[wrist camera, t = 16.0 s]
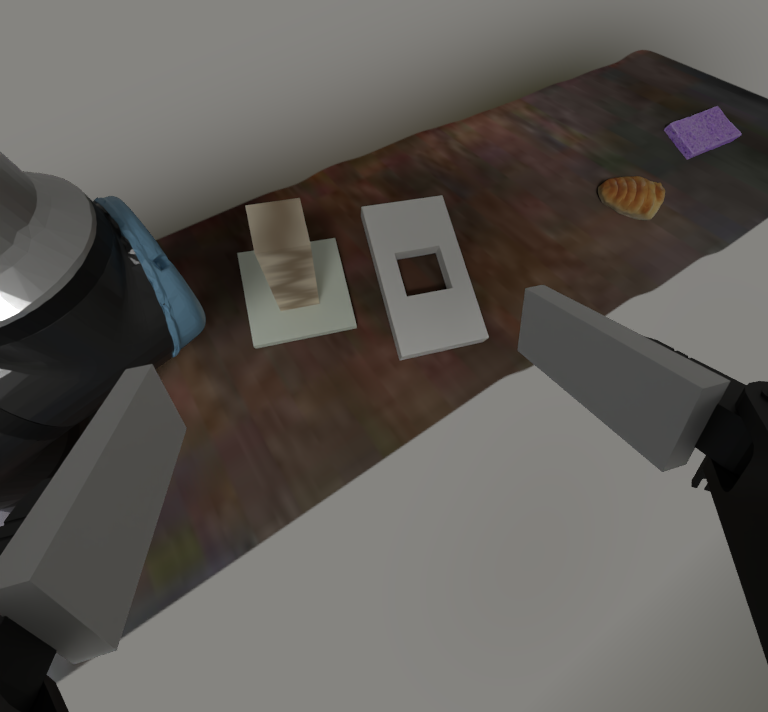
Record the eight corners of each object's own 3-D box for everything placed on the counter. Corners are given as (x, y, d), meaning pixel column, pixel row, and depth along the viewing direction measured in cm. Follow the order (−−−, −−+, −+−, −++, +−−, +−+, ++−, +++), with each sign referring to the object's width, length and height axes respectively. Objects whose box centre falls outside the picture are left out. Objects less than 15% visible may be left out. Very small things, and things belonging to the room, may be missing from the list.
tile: (255, 348, 44) (253, 346, 43) (239, 257, 47) (237, 253, 46) (356, 328, 46) (356, 325, 45) (335, 241, 49) (335, 237, 48)
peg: (280, 311, 45) (254, 253, 31) (273, 276, 46) (245, 205, 32) (319, 303, 46) (310, 244, 32) (311, 269, 47) (299, 197, 33)
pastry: (594, 212, 56) (612, 195, 53) (594, 177, 58) (611, 159, 54) (648, 225, 57) (669, 209, 53) (647, 190, 59) (667, 173, 55)
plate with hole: (399, 360, 46) (401, 356, 44) (360, 215, 51) (361, 206, 49) (483, 341, 48) (489, 337, 46) (438, 204, 53) (442, 195, 51)
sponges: (660, 132, 63) (669, 122, 61) (709, 113, 65) (719, 103, 64) (683, 162, 62) (694, 154, 60) (732, 142, 64) (743, 133, 62)
